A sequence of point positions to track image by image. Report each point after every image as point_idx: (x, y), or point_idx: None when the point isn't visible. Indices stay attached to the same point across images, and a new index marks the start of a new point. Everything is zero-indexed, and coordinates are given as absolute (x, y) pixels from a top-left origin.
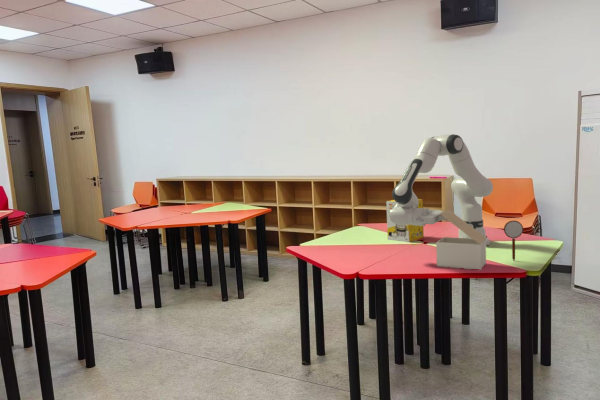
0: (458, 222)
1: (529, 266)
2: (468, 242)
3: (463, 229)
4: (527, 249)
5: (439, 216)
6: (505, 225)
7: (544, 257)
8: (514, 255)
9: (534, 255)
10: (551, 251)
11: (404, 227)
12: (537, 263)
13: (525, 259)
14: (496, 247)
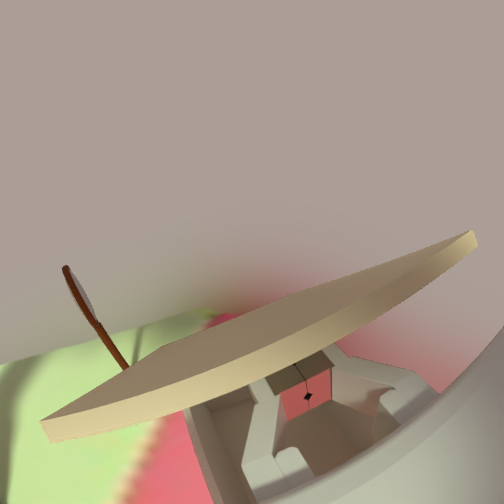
0: (268, 314)
1: (173, 330)
2: (199, 423)
3: (314, 288)
4: (15, 398)
5: (422, 382)
6: (78, 292)
7: (78, 348)
8: (126, 362)
9: (64, 368)
10: (29, 358)
11: None
12: (136, 333)
13: (106, 365)
14: (4, 463)
